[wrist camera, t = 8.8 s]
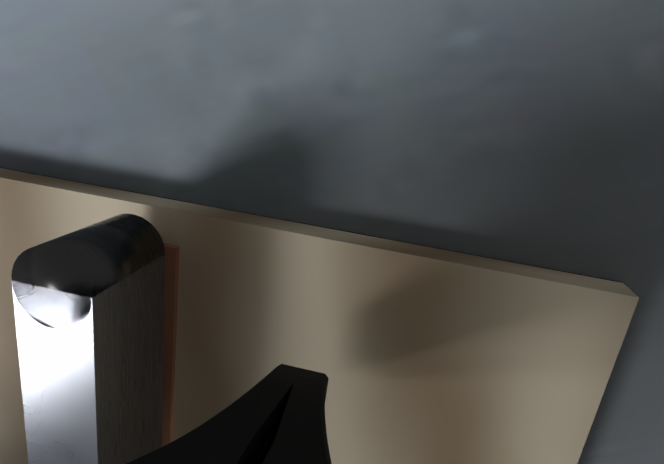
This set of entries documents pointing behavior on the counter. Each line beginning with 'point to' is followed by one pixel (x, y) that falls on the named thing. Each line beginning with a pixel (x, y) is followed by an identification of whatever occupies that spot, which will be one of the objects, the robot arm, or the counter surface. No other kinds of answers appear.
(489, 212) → the counter surface
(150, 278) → the grey lever handle
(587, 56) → the counter surface
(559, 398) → the base
